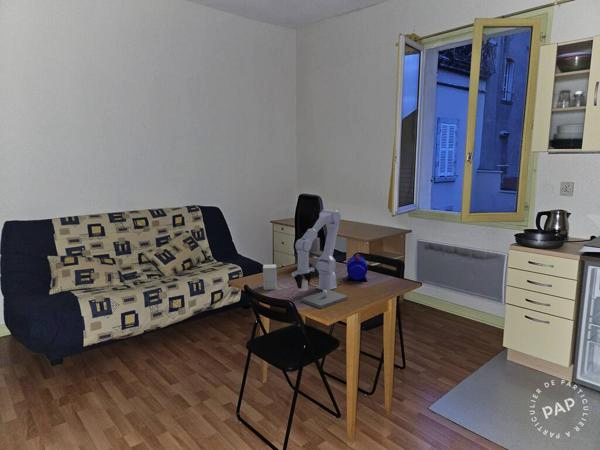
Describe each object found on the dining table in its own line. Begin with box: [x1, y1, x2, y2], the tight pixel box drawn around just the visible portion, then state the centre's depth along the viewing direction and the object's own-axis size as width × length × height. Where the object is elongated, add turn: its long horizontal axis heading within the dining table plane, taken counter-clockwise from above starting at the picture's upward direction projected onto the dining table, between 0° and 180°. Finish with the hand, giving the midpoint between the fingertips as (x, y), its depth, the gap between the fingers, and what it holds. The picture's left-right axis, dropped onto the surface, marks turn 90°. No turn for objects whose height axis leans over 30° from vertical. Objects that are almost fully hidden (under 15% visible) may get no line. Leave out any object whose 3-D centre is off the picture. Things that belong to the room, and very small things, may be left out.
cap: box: [298, 278, 309, 292], centre depth 219 cm, size 5×5×5 cm
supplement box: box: [262, 264, 278, 291], centre depth 233 cm, size 7×7×13 cm
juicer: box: [294, 236, 334, 277], centre depth 267 cm, size 30×16×24 cm, turn 34°
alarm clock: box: [346, 253, 368, 283], centre depth 248 cm, size 12×12×15 cm
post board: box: [300, 289, 349, 309], centre depth 213 cm, size 20×14×5 cm
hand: (303, 287), depth 219 cm, fingers closed on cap, 5 cm apart
